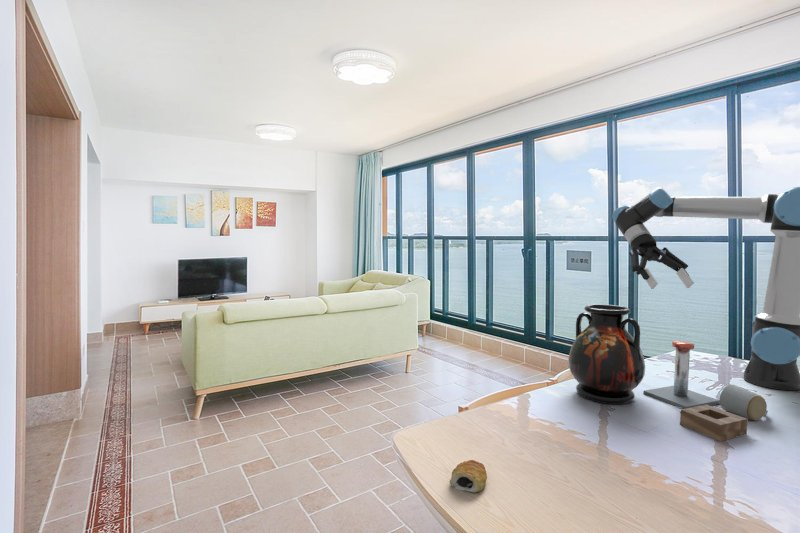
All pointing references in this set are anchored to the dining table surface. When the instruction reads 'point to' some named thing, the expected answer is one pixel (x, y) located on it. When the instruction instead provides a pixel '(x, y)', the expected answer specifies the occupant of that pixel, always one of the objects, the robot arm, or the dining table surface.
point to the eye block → (713, 422)
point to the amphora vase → (606, 355)
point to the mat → (682, 402)
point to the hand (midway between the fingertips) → (672, 286)
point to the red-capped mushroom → (681, 367)
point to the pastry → (469, 476)
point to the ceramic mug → (743, 402)
